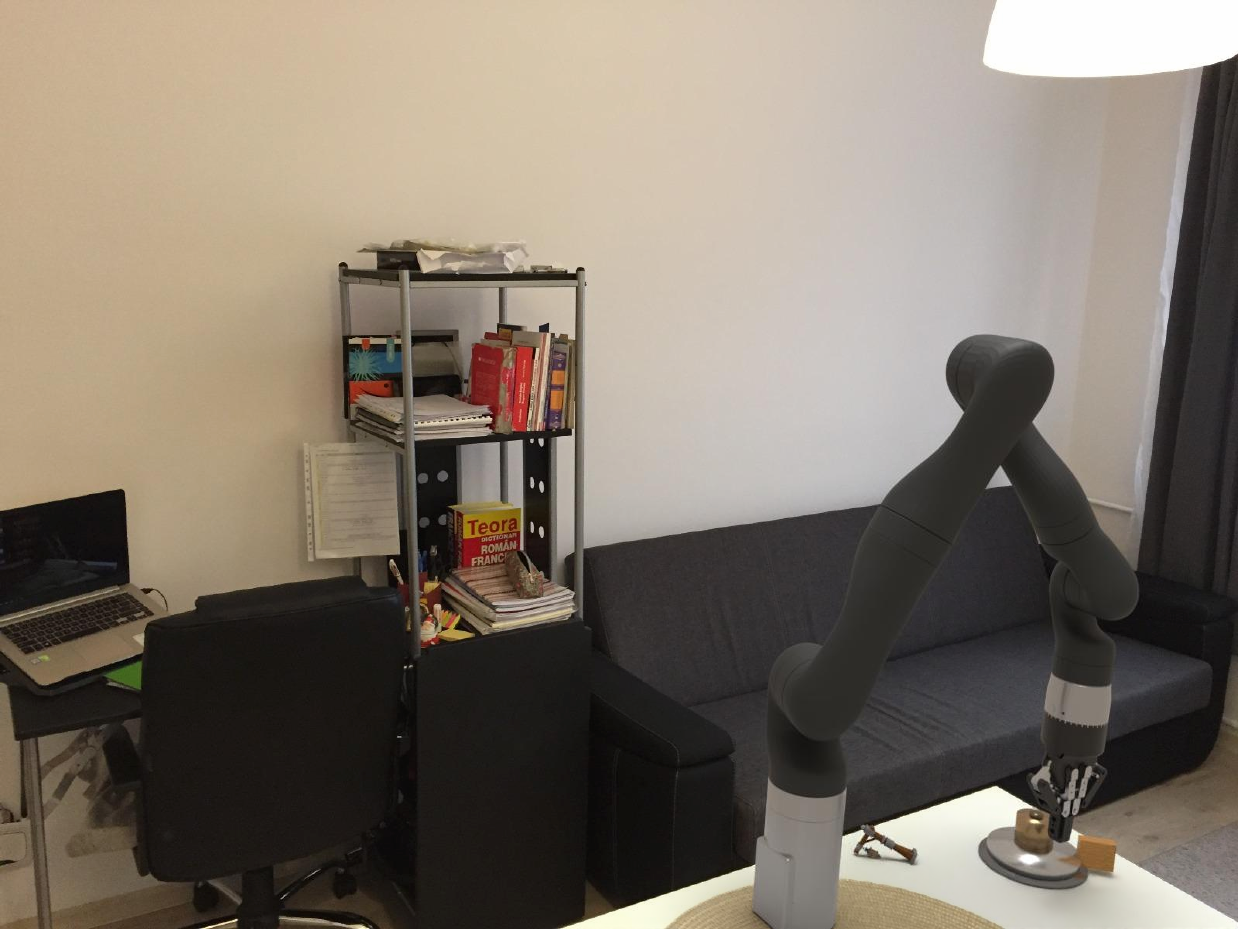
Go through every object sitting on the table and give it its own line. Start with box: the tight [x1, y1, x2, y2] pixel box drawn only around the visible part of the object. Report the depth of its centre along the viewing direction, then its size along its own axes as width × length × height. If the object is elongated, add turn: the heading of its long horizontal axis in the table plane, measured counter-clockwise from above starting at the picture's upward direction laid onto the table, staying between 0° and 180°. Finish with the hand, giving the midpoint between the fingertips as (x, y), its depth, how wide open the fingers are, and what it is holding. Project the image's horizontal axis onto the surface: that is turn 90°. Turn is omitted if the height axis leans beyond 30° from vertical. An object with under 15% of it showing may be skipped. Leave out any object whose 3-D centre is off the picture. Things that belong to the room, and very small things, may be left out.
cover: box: [1014, 806, 1054, 854], centre depth 143 cm, size 5×5×5 cm
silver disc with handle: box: [986, 826, 1117, 880], centre depth 141 cm, size 16×12×4 cm
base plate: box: [977, 836, 1090, 890], centre depth 142 cm, size 14×14×1 cm
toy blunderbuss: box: [853, 824, 919, 866], centre depth 141 cm, size 2×8×4 cm, turn 81°
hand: (1058, 839), depth 135 cm, fingers closed
